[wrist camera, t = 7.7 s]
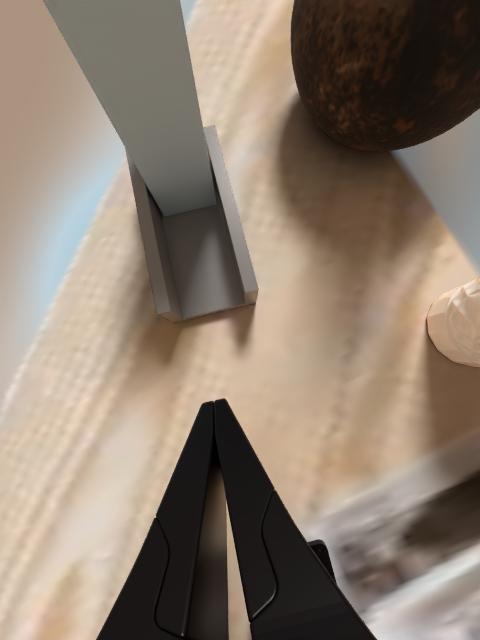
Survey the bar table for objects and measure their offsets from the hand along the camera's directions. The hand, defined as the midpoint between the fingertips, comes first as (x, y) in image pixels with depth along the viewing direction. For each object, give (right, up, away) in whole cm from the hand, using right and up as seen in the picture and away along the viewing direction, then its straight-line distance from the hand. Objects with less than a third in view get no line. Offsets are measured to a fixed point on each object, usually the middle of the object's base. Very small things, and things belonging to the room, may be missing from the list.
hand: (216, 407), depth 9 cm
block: (-4, +16, +15) cm, 22 cm away
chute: (-3, +11, +15) cm, 18 cm away
